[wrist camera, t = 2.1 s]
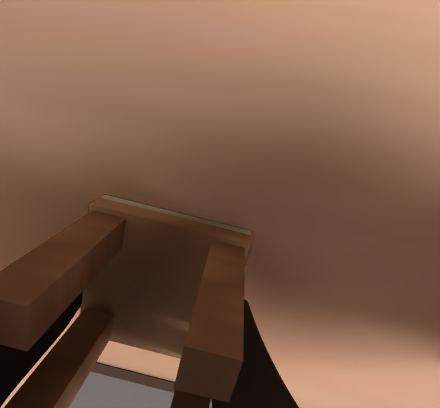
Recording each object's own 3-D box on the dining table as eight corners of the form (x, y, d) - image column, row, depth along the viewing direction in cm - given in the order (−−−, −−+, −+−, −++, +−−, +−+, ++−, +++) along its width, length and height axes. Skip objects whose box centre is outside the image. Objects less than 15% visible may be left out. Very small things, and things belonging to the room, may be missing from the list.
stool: (250, 230, 11) (255, 356, 5) (217, 344, 13) (195, 524, 7) (104, 194, 11) (-42, 280, 6) (93, 313, 13) (-23, 467, 7)
